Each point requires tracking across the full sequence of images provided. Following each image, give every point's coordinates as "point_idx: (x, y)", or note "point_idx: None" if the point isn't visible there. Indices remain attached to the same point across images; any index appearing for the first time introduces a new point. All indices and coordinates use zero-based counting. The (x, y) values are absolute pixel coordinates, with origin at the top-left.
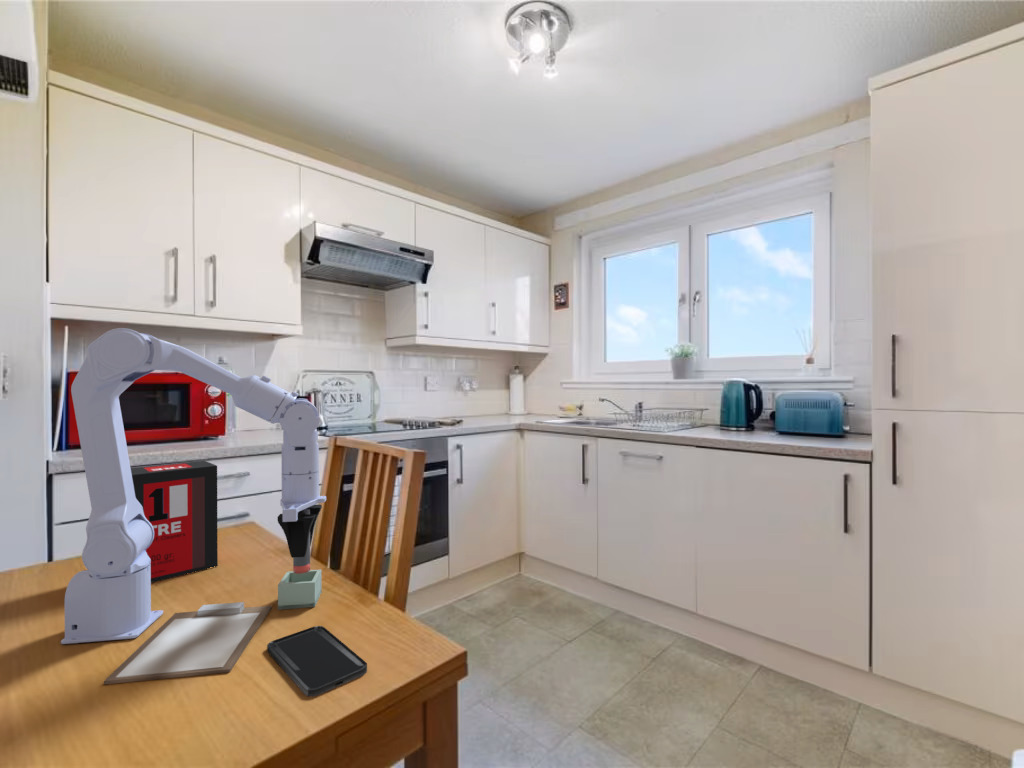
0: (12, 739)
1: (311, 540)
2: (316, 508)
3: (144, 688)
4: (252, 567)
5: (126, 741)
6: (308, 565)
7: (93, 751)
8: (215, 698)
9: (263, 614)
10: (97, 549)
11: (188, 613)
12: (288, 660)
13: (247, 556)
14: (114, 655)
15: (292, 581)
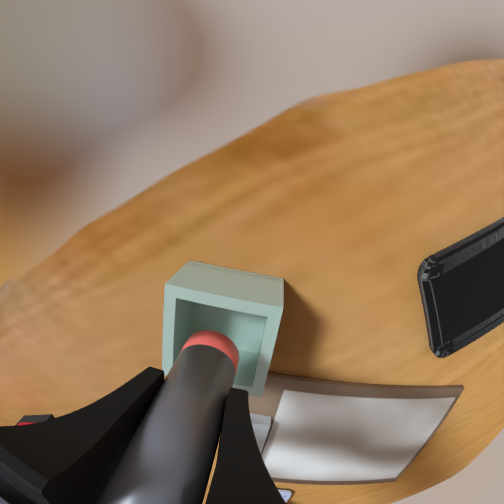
0: (436, 484)
1: (137, 384)
2: (51, 500)
3: (430, 449)
4: (47, 377)
5: (500, 420)
6: (222, 348)
7: (494, 434)
8: (499, 379)
9: (293, 383)
10: None
11: None
12: (497, 314)
13: (14, 374)
14: (327, 492)
15: (181, 349)
